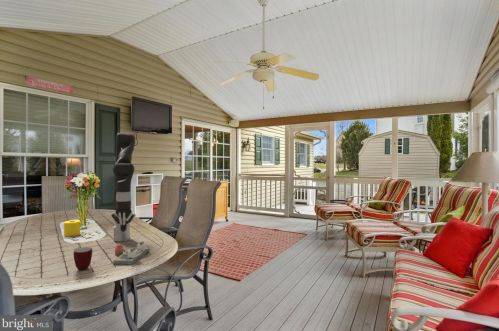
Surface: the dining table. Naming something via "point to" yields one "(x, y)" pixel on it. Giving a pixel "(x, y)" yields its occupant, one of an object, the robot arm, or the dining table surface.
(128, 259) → the panel
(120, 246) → the cap
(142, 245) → the toggle
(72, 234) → the yellow cylinder
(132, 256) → the toggle
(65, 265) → the dining table surface
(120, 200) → the robot arm
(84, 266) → the mug
